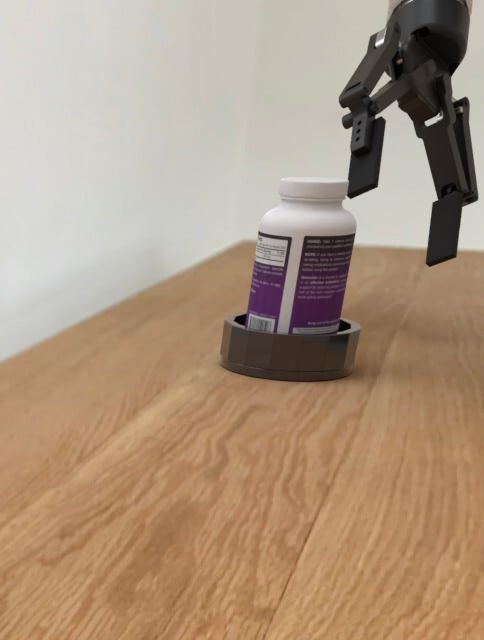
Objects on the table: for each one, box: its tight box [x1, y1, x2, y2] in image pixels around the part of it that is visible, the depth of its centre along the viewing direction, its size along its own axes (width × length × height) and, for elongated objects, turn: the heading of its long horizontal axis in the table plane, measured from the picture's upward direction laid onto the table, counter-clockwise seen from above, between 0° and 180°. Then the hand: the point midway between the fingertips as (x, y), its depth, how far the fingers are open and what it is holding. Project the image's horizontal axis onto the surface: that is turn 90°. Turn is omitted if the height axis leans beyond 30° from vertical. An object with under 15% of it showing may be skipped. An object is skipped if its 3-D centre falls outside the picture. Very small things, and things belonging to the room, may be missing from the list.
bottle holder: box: [219, 311, 361, 382], centre depth 100 cm, size 12×12×4 cm
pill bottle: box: [245, 176, 358, 334], centre depth 97 cm, size 8×8×14 cm
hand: (402, 227), depth 103 cm, fingers open, 13 cm apart
